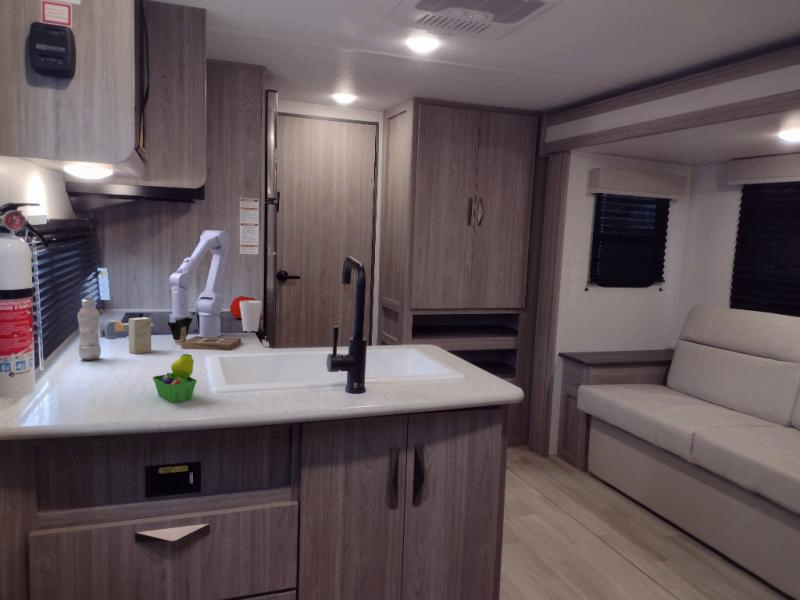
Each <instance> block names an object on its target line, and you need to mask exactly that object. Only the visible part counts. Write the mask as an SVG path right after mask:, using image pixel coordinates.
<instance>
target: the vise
mask: <svg viewBox="0 0 800 600" xmlns="http://www.w3.org/2000/svg"><path fill="white" fill-rule="evenodd" d="M153 326H154V323H153V322H151V328H152V327H153ZM124 336H129V322H126V323H125V322H124V323H122V321H118V320H114V319H104V320H102V321H100V322H99V338H106V340H116V339H115V338H117V339H118V337H121V338H125V337H124Z"/></svg>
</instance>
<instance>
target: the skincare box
mask: <svg viewBox="0 0 800 600" xmlns="http://www.w3.org/2000/svg"><path fill="white" fill-rule="evenodd" d="M128 323H129V337H128V352H129V353H131V354H135V355H137V354H144V353H145V354H146V353H151V352H152V327H151V323H152V318H151V317H146V316H145V317H144V316H143V317H133V318H131V317H129V318H128Z"/></svg>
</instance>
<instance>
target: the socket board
mask: <svg viewBox="0 0 800 600" xmlns="http://www.w3.org/2000/svg"><path fill="white" fill-rule="evenodd" d="M180 344H181V347H180V348H181V349H186V350H187V349H188V350H189V349H190V350H192V349H193V350H213V351H216V350H217V351H231V350H233V349H234V348H236V347H238V346H239V345H241V344H242V338H241V337H223V336H220V337H219V336H218V337H201V336H198V335H196V336H193V337H191V338H188V339H186V341H185V342H182V343H180Z"/></svg>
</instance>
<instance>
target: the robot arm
mask: <svg viewBox="0 0 800 600" xmlns="http://www.w3.org/2000/svg"><path fill="white" fill-rule="evenodd" d="M199 239H200V240H199V243H198V244H197V246H196V247H195V249H194V251H193V252H192V254H191V256H189V257H185V258H184V260H183V262H182V263H181V264H180V266H179V268H178V269H177V270H176V272H173V273H171V275H170V276H169V279H168V280H167V281H168V284H169V286H170V290H171V294H172V295H171V296H172V297H171V298H172V299H171V302H172V303H171V305H172V307H171V308H172V310H171V312H172V314H171V313H170V314H169V315H168V316H169V321H167V322H166V323H167V326H168V327H169V329H170V332H171V334H172V339H173V341H175V340H180V335H181V329H182V326H185V327H186V338H187V337H188V334H189V330H190V326H191V324H192V322H193V320H194V319H193V318H192V317H191V312H189V287H190V286H191V284H192V282H193V281H192V280H193V275H194V274H195V273H196V271H197V270H198V269H199V267H200V261H201V259H203V257H204V256H205V255H206V253H208V251H210V252H211V253H212V258H211V262H210V263H211V265H210V268H209V272H208V275H207V281H206V285H205V289H204V291H203V292H201V293H200V294H199V295H198V298H197V300H195V301H196V302H195V305H194V308H195V311H196V312H197V315H198V316H199V334H198V335H197V336H201V337H219V336H220V337H221V336H222V335H223V334H224V333H223V332H221V317H220V314H221V312H222V311H223V299H224V298H223V297H222V296H221V295H220V294H219V293H220V289H221V284H222V279H223V276H224V271H225V267H226V264H227V258H228V254H229V252H228V251H229V246H230V241H231V238H230V235H229V233H228V231H226V230H216V229H215V230H212V229H211V230H210V229H206V230H203V232H202V233H201V235H200V236H199Z"/></svg>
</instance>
